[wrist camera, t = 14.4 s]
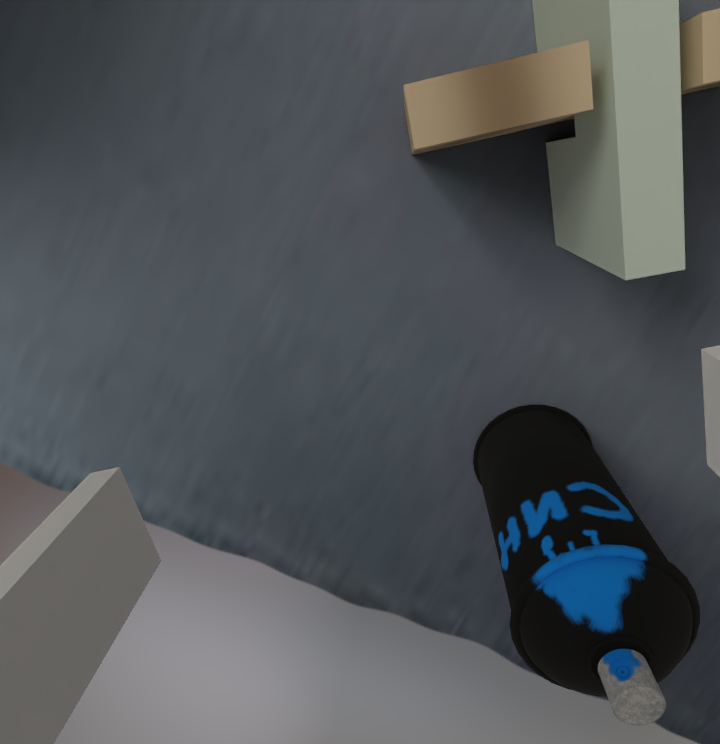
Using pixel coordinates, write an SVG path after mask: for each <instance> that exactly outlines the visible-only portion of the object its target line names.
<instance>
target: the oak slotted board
mask: <svg viewBox="0 0 720 744" xmlns="http://www.w3.org/2000/svg"><path fill="white" fill-rule="evenodd" d="M679 32H680V73H681V95H683V94H688V93H692V92H697V91H701V90H706V89H710V88H715V87H719V86H720V8H719V9H715V10H711V11H706V12H702V13H700V14H698V15H697V16H695V17H693V18H691V19H689V20H687V21H685V22H683V23H681V24H679ZM404 106H405V117H406V123H407V129H408V135H409V141H410V147H411V153H412V155H416V154H420V153H425V152H429V151H434V150H438V149H442V148H447V147H451V146H456V145H460V144H465V143H469V142H474V141H478V140H483V139H487V138H492V137H496V136H500V135H505V134H509V133H514V132H518V131H523V130H527V129H532V128H536V127H541V126H545V125H550V124H554V123H558V122H563V121H567V120H572V119H574V115H576V114H579V113H582V112H585V111H589V110H592V109H594V108H593V94H592V80H591V66H590V52H589V40H587V41H583V42H578V43H574V44H570V45H566V46H562V47H558V48H554V49H550V50H545V51H541V52H537V53H533V54H529V55H525V56H521V57H516V58H512V59H508V60H504V61H500V62H496V63H492V64H488V65H483V66H479V67H475V68H471V69H467V70H463V71H459V72H455V73H450V74H446V75H442V76H438V77H434V78H430V79H426V80H422V81H417V82H413V83H409V84H405V85H404Z"/></svg>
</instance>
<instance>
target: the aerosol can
mask: <svg viewBox="0 0 720 744" xmlns="http://www.w3.org/2000/svg"><path fill="white" fill-rule="evenodd" d="M473 464H474V470H475V474H476V476H477V479H478V481H479V483H480V484H481V486H482V488H483V492H484V496H485V501H486V505H487V509H488V513H489V518H490V522H491V526H492V530H493V534H494V539H495V543H496V547H497V551H498V556H499V560H500V564H501V568H502V573H503V577H504V581H505V585H506V590H507V594H508V598H509V602H510V607H511V618H510V629H511V636H512V640H513V642H514V645H515V647H516V649H517V651H518V653H519V655H520V656H521V657H522V659H523V660H524V661H525V663H526V664H527V665H528V666H529V667H530V668H531V669H532V670H533V671H535V672H536V673H537V674H538V675H539V676H541V677H543V678H545V679H546V680H548V681H550V682H551V683H554V684H556V685H559V686H562V687H564V688H567V689H571V690H575V691H578V692H582V693H585V694H590V695H595V696H604V697H608V699H609V702H610V704H611V707H612V709H613V712H614V714H615V716H616V717H617V718H618V719H619V720H621V721H623V722H625V723H628V724H631V725H646V724H649V723H652V722H654V721H656V720H657V719H658V718H660V717H661V715H662V714H663V713H664V711H665V708H666V701H665V698H664V696H663V694H662V692H661V690H660V688H659V686H658V684H657V683H659V682H660V681H662V680H663V679H664V678H665V677H666V676H667V675H669V674H670V673H671V671H672V670H673V669H674V668H675V667H676V665H677V664H678V663H679V662H680V661H681V660H682V658H683V657H684V656H685V655H686V653H687V652H688V651H689V650H690V648H691V646H692V644H693V642H694V640H695V638H696V636H697V632H698V628H699V624H700V607H699V603H698V600H697V597H696V593H695V590H694V589H693V587H692V585H691V584H690V582H689V580H688V579H687V577H686V576H685V575H684V574H683V573H682V572H681V571H680V570H679V569H678V568H677V567H676V566H674V565H673V564H672V563H670V562H668V560H667V559H666V557H665V556H664V554H663V553H662V551H661V550H660V548H659V547H658V545H657V544H656V542H655V541H654V539H653V538H652V536H651V535H650V533H649V532H648V530H647V529H646V527H645V526H644V524H643V523H642V521H641V520H640V518H639V517H638V515H637V514H636V512H635V510H634V509H633V507H632V506H631V504H630V503H629V501H628V500H627V498H626V497H625V495H624V494H623V492H622V491H621V489H620V488H619V486H618V485H617V483H616V482H615V480H614V479H613V477H612V476H611V474H610V473H609V471H608V470H607V468H606V467H605V465H604V464H603V462H602V461H601V459H600V458H599V456H598V455H597V453H596V452H595V450H594V449H593V447H592V443H591V440H590V437H589V434H588V433H587V431H586V430H585V428H584V426H583V425H582V424H581V423H580V422H579V421H578V420H577V419H576V418H575V417H573V416H572V415H570V414H569V413H567V412H565V411H563V410H560V409H558V408H555V407H551V406H546V405H527V406H520V407H517V408H514V409H511V410H508V411H506V412H505V413H503V414H501V415H499V416H498V417H496V418H495V419H494V420H493V421H492V422H490V423H489V424H488V425H487V427H486V428H485V429H484V430H483V432H482V433H481V435H480V437H479V439H478V441H477V443H476V447H475V450H474V459H473Z"/></svg>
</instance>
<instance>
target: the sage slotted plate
mask: <svg viewBox="0 0 720 744" xmlns="http://www.w3.org/2000/svg"><path fill="white" fill-rule="evenodd" d="M532 5H533V15H534V26H535V36H536V46H537V52H541V51H545V50H550V49H554V48H558V47H562V46H566V45H570V44H574V43H578V42H583V41H587V40H589V52H590V66H591V80H592V94H593V108H594V109H592V110H589V111H585V112H582V113H579V114H576V115H574V121H575V134H576V136H575V137H570V138H565V139H561V140H556V141H552V142H547V143H546V150H547V160H548V171H549V181H550V192H551V202H552V212H553V223H554V233H555V243H556V245H557V246H559V247H561V248H563V249H565V250H567V251H569V252H571V253H573V254H575V255H577V256H579V257H581V258H583V259H585V260H587V261H589V262H590V263H592V264H594V265H596V266H598V267H600V268H602V269H604V270H606V271H608V272H610V273H612V274H614V275H616V276H618V277H620V278H622V279H624V280H631V279H636V278H642V277H647V276H653V275H658V274H664V273H669V272H675V271H680V270H685V234H684V194H683V153H682V113H681V73H680V32H679V0H532Z"/></svg>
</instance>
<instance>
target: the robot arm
mask: <svg viewBox="0 0 720 744" xmlns="http://www.w3.org/2000/svg"><path fill="white" fill-rule="evenodd" d="M701 355H702V375H703V394H704V413H705V432H706V451H707V465H708V466H709V467H710V468H711V469H712V470H713V471H714V472H715V473H716V474H717V475H718V476H719V477H720V345H718V346H714V347H709V348H704V349H701ZM160 562H161V560H160V557H159V555H158V553H157V551H156V548H155V546H154V544H153V542H152V539H151V537H150V535H149V532H148V530H147V528H146V526H145V523H144V521H143V519H142V517H141V514H140V512H139V510H138V508H137V505H136V503H135V501H134V499H133V496H132V494H131V492H130V490H129V487H128V485H127V483H126V481H125V478H124V476H123V474H122V472H121V469H120V467H118V468H113V469H108V470H103V471H98V472H93V473H90V474H89V475H88V476H87V477H86V478H85V479H84V480H83V481H82V482H81V483H80V484H79V485H78V486H77V487H76V488H75V489H74V490H73V491H72V493H71V494H70V495H69V496H68V497H67V498H66V499H65V500H64V501H63V502H62V503H61V504H60V505H59V506H58V507H57V508H56V509H55V510H54V511H53V512H52V513H51V514H50V515H49V516H48V517H47V518H46V519H45V520H44V521H43V522H42V523H41V524H40V525H39V526H38V527H37V529H36V530H35V531H34V532H33V533H32V534H31V535H30V536H29V537H28V538H27V539H26V540H25V541H24V542H23V543H22V544H21V545H20V546H19V547H18V548H17V549H16V550H15V551H14V552H13V553H12V554H11V555H10V556H9V557H8V558H7V559H6V560H5V561H4V562H3V563H2V565H0V744H54V742H55V741H56V739H57V737H58V735H59V734H60V732H61V730H62V729H63V727H64V725H65V723H66V722H67V720H68V718H69V717H70V715H71V713H72V712H73V710H74V708H75V706H76V705H77V703H78V701H79V700H80V698H81V696H82V695H83V693H84V691H85V689H86V688H87V686H88V684H89V683H90V681H91V679H92V678H93V676H94V674H95V672H96V671H97V669H98V667H99V666H100V664H101V662H102V660H103V659H104V657H105V655H106V653H107V652H108V650H109V648H110V647H111V645H112V643H113V642H114V640H115V638H116V636H117V635H118V633H119V631H120V630H121V628H122V626H123V625H124V623H125V621H126V620H127V617H128V616H129V614H130V612H131V611H132V609H133V608H134V606H135V604H136V602H137V601H138V599H139V597H140V596H141V594H142V592H143V591H144V589H145V587H146V585H147V584H148V582H149V580H150V579H151V577H152V575H153V573H154V572H155V570H156V568H157V567H158V565H159V563H160Z"/></svg>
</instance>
